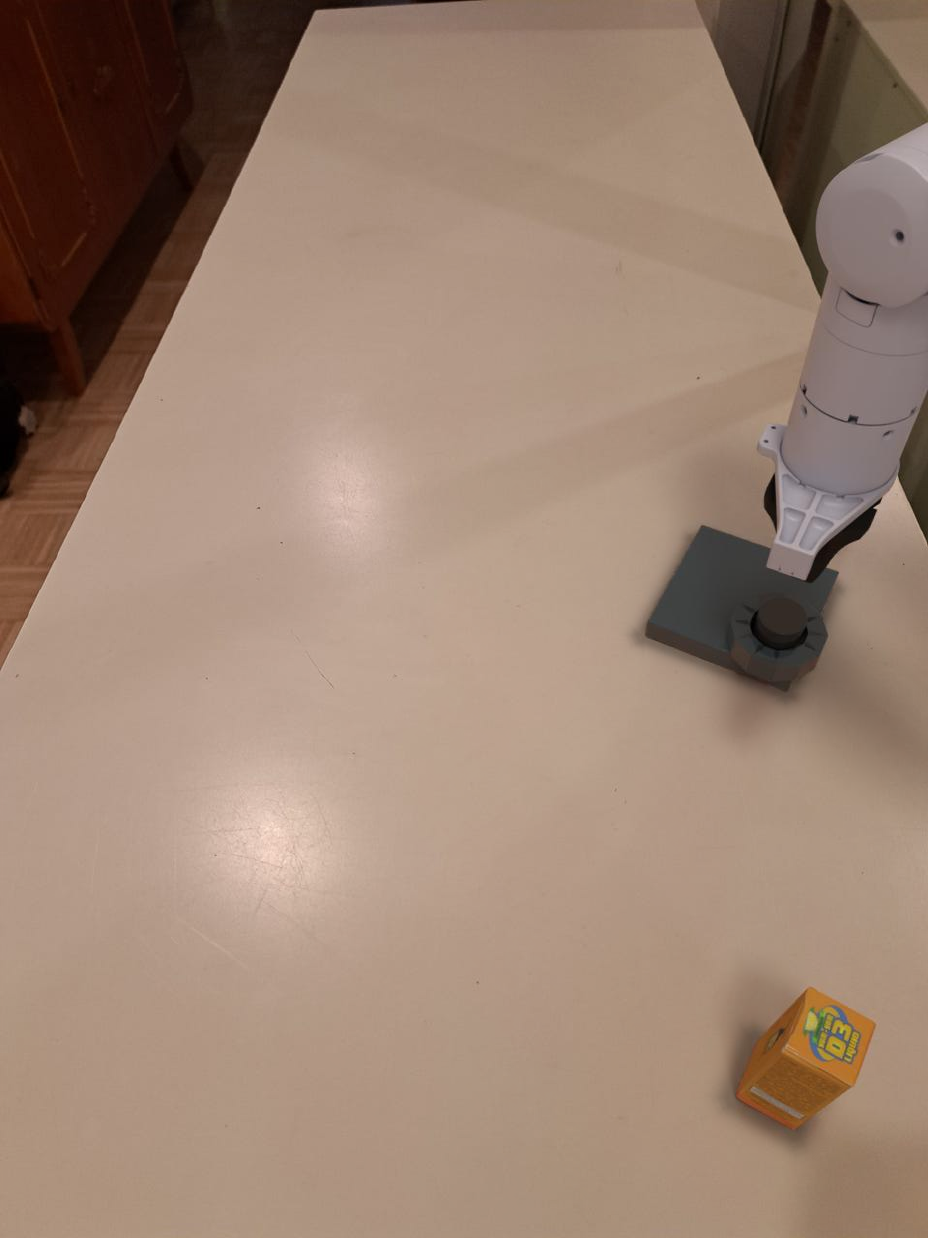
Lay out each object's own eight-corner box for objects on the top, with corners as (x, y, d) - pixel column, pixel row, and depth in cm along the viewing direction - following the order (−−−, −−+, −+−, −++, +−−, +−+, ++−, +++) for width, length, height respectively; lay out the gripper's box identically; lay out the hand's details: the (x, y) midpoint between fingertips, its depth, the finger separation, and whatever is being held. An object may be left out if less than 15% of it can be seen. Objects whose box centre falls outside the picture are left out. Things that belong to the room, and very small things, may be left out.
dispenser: (846, 591, 67) (860, 558, 64) (797, 709, 61) (810, 679, 59) (698, 539, 71) (705, 506, 68) (639, 646, 65) (644, 615, 62)
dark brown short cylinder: (807, 623, 62) (814, 606, 60) (793, 657, 60) (799, 640, 59) (762, 606, 63) (767, 590, 61) (747, 639, 61) (752, 623, 60)
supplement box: (799, 1138, 47) (854, 1094, 39) (733, 1098, 48) (772, 1047, 40) (823, 1075, 48) (879, 1020, 40) (758, 1037, 50) (800, 978, 42)
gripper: (823, 286, 51) (773, 472, 62) (727, 455, 44) (689, 632, 54) (961, 320, 49) (884, 507, 59) (885, 504, 41) (812, 680, 52)
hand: (798, 570), depth 57 cm, fingers closed
